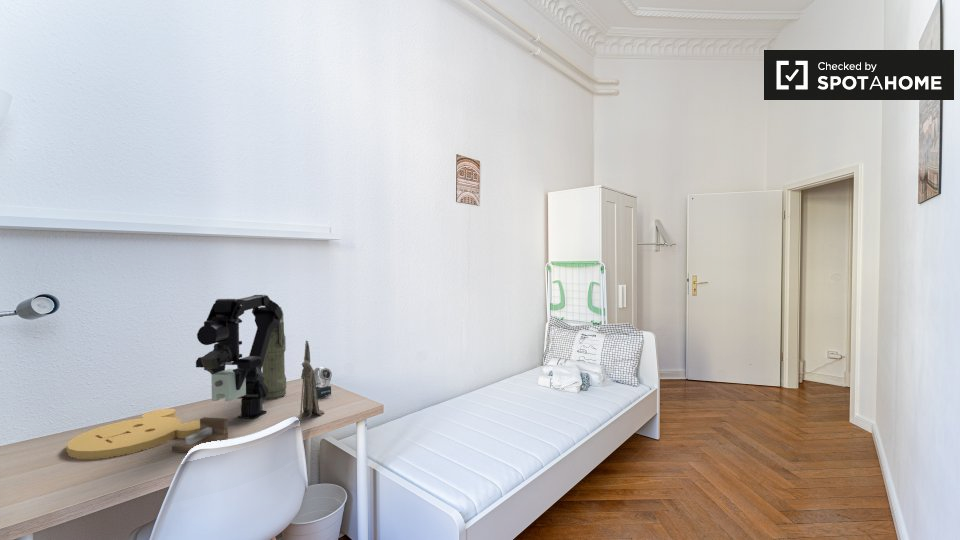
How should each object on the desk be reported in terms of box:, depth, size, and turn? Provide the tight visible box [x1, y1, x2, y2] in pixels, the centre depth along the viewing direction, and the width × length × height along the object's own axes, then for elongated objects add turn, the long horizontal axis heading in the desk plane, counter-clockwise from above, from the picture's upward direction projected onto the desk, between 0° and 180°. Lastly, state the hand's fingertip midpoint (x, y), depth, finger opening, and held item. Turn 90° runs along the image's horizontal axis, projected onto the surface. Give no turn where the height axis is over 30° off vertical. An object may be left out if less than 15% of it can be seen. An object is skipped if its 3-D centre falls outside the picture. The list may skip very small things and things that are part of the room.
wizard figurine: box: [299, 340, 325, 419], centre depth 146 cm, size 10×8×25 cm
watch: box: [313, 366, 333, 399], centre depth 167 cm, size 6×8×11 cm
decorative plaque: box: [66, 408, 200, 460], centre depth 127 cm, size 31×3×30 cm
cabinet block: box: [210, 368, 246, 403], centre depth 132 cm, size 8×6×8 cm
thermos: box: [261, 306, 287, 400], centre depth 167 cm, size 9×12×35 cm
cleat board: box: [171, 416, 229, 453], centre depth 122 cm, size 11×8×6 cm
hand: (229, 389), depth 132 cm, fingers closed on cabinet block, 6 cm apart
